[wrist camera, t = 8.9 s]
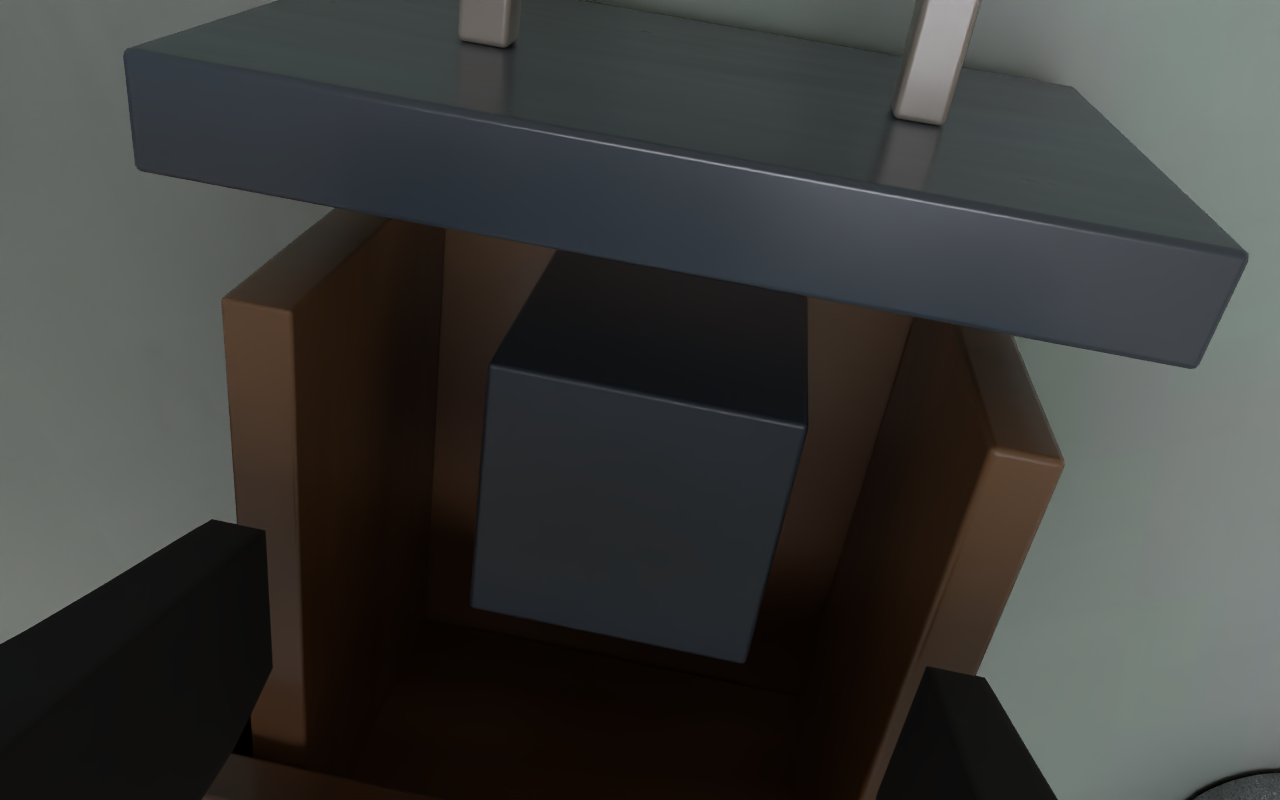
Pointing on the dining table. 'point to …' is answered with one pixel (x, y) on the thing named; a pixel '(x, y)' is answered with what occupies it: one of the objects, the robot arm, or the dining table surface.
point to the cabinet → (290, 781)
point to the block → (640, 454)
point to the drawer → (673, 241)
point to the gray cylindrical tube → (1246, 789)
